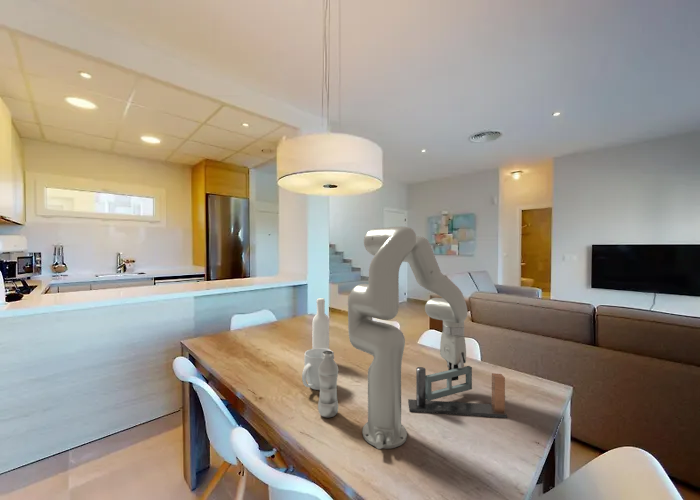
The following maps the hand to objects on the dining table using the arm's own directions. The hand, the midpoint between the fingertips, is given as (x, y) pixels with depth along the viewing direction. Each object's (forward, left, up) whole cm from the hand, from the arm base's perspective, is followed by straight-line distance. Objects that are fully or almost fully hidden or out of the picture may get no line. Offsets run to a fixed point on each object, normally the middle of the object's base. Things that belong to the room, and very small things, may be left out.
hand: (453, 379), depth 110 cm
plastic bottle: (-21, +43, -5) cm, 48 cm away
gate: (-6, +3, -3) cm, 7 cm away
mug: (-3, +51, -5) cm, 52 cm away
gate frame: (-13, +2, -4) cm, 14 cm away
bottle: (+21, +55, -5) cm, 59 cm away
